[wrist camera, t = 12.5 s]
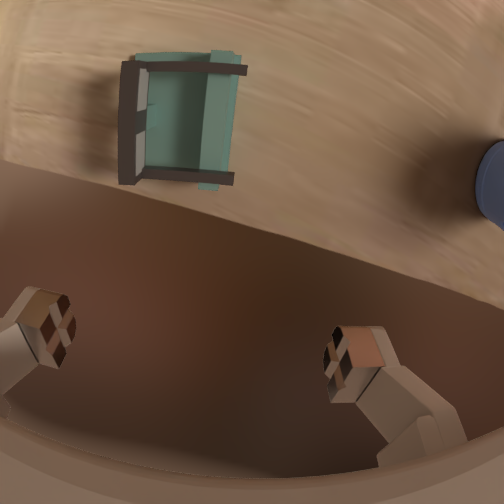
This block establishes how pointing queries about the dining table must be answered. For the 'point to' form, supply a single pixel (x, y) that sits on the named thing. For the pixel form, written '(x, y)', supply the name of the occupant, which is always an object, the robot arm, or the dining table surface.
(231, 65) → the glasses frame
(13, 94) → the dining table surface
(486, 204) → the water jug
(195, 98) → the display stand
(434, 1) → the dining table surface
